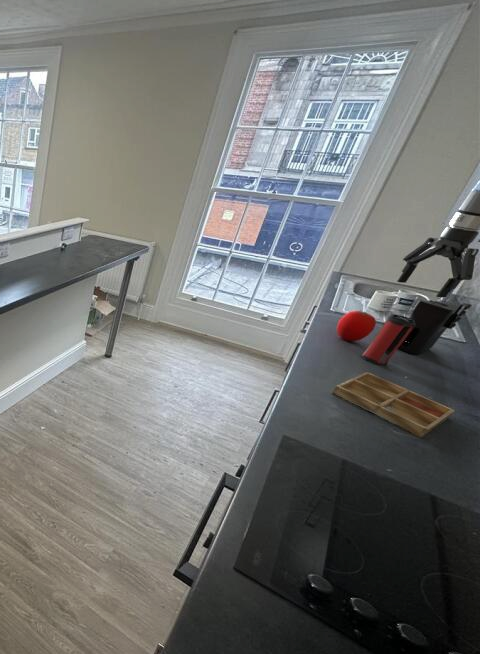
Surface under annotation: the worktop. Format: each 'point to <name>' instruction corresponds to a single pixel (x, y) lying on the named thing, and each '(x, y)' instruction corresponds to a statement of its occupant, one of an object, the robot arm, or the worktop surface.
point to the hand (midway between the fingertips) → (419, 289)
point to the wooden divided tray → (394, 403)
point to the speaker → (388, 339)
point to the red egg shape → (355, 325)
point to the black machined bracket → (431, 324)
